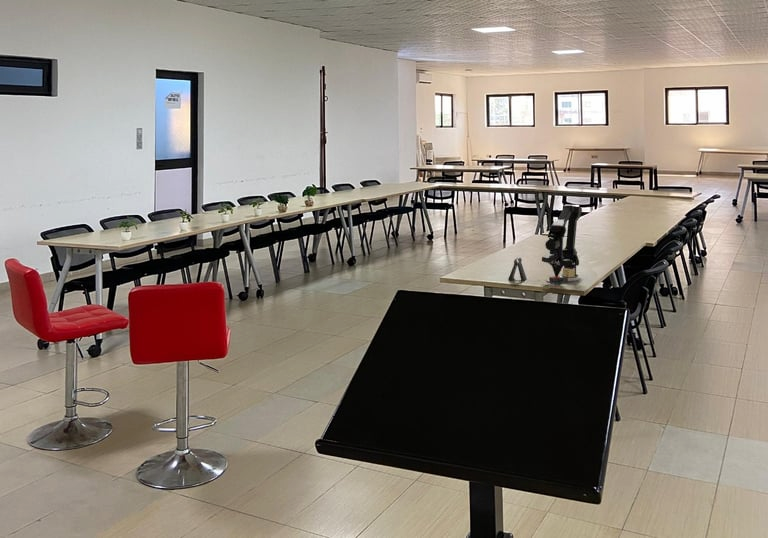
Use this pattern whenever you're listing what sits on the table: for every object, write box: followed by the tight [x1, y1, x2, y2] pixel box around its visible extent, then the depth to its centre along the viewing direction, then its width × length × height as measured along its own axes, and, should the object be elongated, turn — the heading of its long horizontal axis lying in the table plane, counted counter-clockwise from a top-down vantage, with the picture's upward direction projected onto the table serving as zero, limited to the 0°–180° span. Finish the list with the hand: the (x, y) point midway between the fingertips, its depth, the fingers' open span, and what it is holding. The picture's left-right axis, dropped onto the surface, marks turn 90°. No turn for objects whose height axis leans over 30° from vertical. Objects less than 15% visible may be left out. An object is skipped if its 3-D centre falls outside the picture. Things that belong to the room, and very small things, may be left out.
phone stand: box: [507, 257, 527, 282], centre depth 414 cm, size 9×6×12 cm, turn 68°
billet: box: [562, 267, 575, 278], centre depth 410 cm, size 4×4×6 cm
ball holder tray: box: [546, 275, 580, 285], centre depth 409 cm, size 16×8×3 cm, turn 117°
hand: (556, 276), depth 407 cm, fingers closed, pressing on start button
